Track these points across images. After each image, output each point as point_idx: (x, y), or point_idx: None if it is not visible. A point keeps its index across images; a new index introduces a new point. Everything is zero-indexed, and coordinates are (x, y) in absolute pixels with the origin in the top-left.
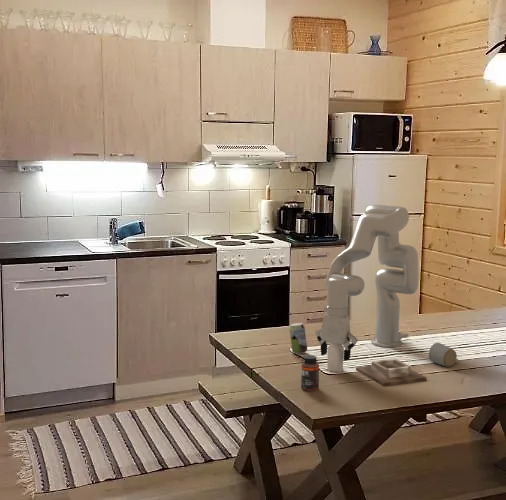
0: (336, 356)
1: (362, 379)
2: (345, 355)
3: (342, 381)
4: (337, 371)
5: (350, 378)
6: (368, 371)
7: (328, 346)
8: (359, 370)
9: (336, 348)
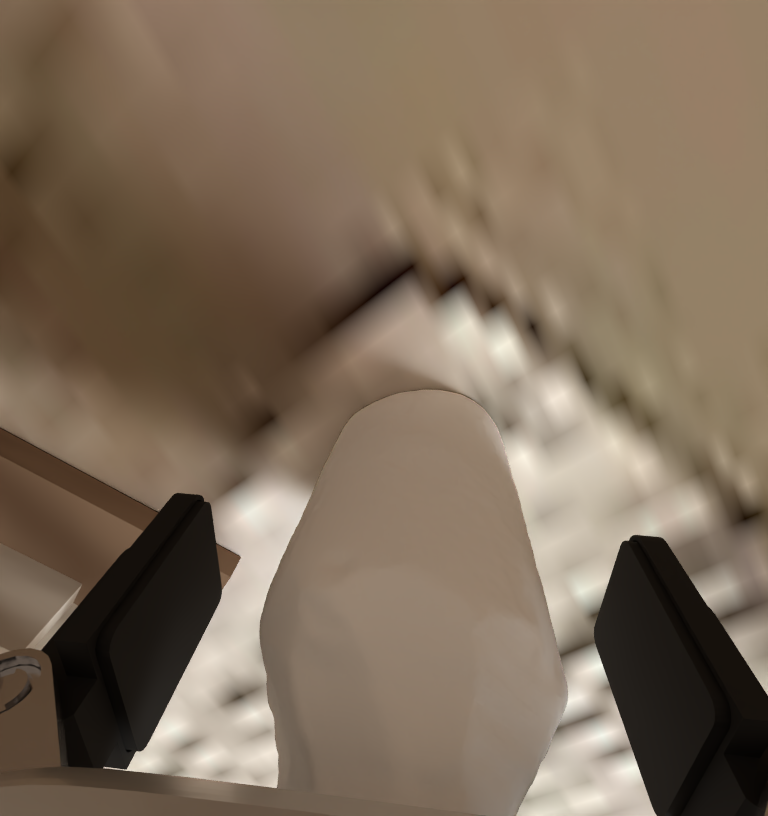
0: (326, 518)
1: (8, 348)
2: (129, 549)
3: (99, 118)
4: (353, 416)
5: (112, 297)
6: (65, 534)
7: (555, 702)
8: None
9: (319, 668)
